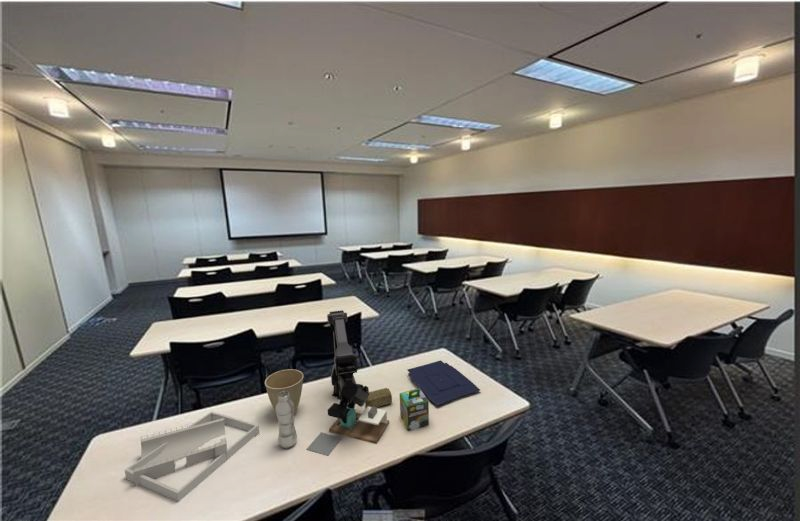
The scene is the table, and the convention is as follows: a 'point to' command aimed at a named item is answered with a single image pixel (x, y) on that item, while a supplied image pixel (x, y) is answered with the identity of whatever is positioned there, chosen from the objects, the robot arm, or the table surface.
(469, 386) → the navy folded cloth
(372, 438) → the brown wooden board
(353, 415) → the teal block
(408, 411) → the chalk box
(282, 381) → the plant pot
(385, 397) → the stone block
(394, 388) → the table surface
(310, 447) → the slate mat
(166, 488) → the organizer tray
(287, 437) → the plastic bottle
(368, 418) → the cover
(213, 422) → the skate ramp
